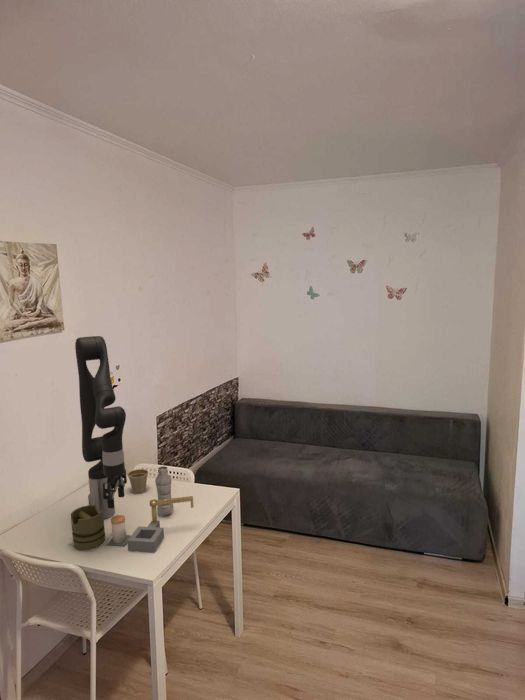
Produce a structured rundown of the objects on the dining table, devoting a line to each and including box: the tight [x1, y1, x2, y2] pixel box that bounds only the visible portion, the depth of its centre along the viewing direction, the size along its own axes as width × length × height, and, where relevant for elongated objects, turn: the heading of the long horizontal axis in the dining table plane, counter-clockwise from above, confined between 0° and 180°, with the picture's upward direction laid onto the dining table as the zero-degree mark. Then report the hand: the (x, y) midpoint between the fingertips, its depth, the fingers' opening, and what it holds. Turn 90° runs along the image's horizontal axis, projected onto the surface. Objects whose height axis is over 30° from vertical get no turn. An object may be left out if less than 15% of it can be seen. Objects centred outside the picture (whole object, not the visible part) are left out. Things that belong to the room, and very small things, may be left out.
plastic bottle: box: [154, 465, 174, 516], centre depth 200 cm, size 6×7×20 cm
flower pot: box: [126, 468, 149, 494], centre depth 223 cm, size 9×9×9 cm
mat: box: [106, 534, 132, 547], centre depth 181 cm, size 7×7×1 cm
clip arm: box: [149, 495, 194, 509], centre depth 187 cm, size 3×16×4 cm, turn 101°
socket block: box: [126, 506, 165, 553], centre depth 180 cm, size 10×15×11 cm, turn 171°
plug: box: [110, 514, 127, 544], centre depth 181 cm, size 5×5×9 cm
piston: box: [70, 504, 106, 552], centre depth 180 cm, size 11×12×11 cm
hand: (116, 502), depth 179 cm, fingers open, 8 cm apart
